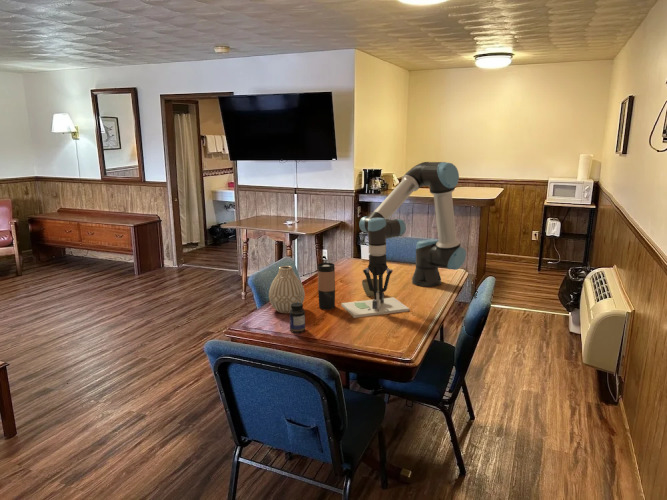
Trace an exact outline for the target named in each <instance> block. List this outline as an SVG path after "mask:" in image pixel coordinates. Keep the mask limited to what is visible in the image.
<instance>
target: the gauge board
mask: <svg viewBox="0 0 667 500" xmlns="http://www.w3.org/2000/svg"><path fill="white" fill-rule="evenodd" d="M373 300H374V298H373V299H366V300H359V301H358V300H356V301H349V302H342V303H341V307H342V308H343V309H345V311H346V312H348V314H349V315H350V316H351V317H352V318H354V319H355V318H364V317H372V316H381V315H388V314H395V313H397V314H398V313H402V312H405V313H406V312H409V311H410V307H408V306H406V305H405V304H404V303H403V302H401V301H400V300H398V299H397V298H396V297H394V296H391V297H384V303H381V306H380V307H378V308H377V309H372V304H373Z"/></svg>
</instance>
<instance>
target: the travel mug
mask: <svg viewBox="0 0 667 500" xmlns="http://www.w3.org/2000/svg"><path fill="white" fill-rule="evenodd" d="M335 267H336V266H335V263H332V262H321V263H319V264H317V291H318V293H317V294H318V307H319V308H318V309H320V310H324V311H325V310H326V311H329V310H333V309H335V306H336V277H335V276H336V274H335V269H336V268H335Z"/></svg>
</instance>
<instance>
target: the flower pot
mask: <svg viewBox="0 0 667 500" xmlns="http://www.w3.org/2000/svg"><path fill="white" fill-rule="evenodd" d="M371 281H372V284H373V278H371ZM361 285H362V288H363V290H364V291H363V292H364V293H365V295H366V296H367V297H371V298H374V292H373V291H370V289H369V286H368V282H367V279H366V278H364V279H362V280H361ZM377 289H378V290H377V291H379V278H377Z"/></svg>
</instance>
